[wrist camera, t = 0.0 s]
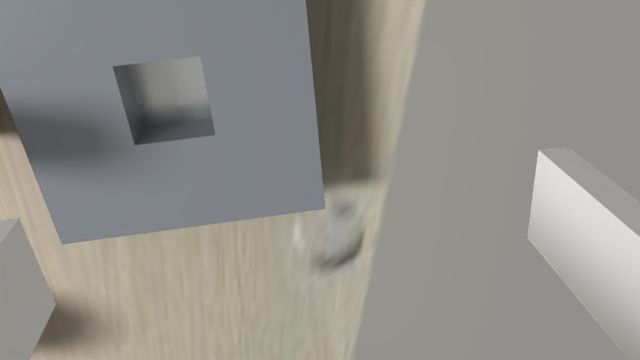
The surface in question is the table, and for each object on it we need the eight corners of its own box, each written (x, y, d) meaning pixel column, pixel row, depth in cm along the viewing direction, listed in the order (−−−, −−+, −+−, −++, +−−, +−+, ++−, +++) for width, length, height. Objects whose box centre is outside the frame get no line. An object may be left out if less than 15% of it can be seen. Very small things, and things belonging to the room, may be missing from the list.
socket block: (-13, -51, 34) (-52, -43, 30) (292, -81, 35) (298, -78, 31) (80, 209, 44) (61, 244, 39) (318, 178, 45) (325, 208, 40)
